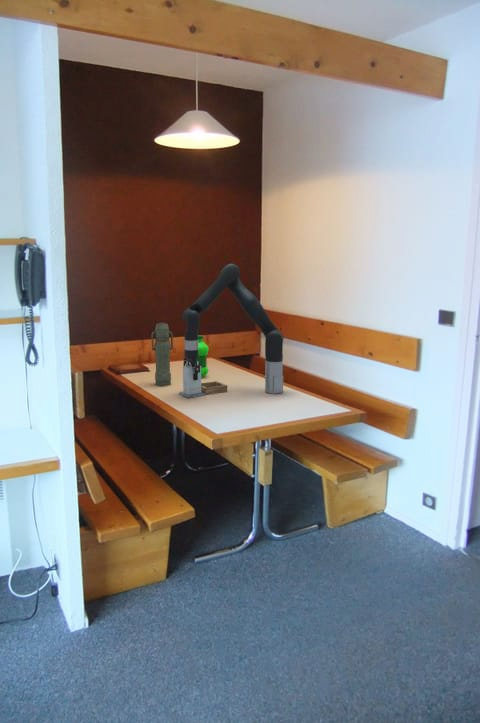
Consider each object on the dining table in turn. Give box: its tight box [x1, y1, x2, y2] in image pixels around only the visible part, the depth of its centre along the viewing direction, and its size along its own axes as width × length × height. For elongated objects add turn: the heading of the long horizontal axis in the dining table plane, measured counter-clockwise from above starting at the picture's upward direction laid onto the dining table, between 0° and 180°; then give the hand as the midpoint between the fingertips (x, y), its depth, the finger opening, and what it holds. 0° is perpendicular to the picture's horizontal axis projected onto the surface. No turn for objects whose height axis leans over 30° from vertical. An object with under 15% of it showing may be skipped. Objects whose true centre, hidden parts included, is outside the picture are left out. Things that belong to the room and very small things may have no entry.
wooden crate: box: [201, 380, 228, 396], centre depth 312 cm, size 11×13×4 cm
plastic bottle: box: [196, 334, 210, 379], centre depth 343 cm, size 10×10×25 cm
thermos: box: [151, 322, 174, 387], centre depth 323 cm, size 9×12×35 cm
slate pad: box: [178, 391, 206, 399], centre depth 304 cm, size 10×10×1 cm
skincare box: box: [182, 366, 202, 395], centre depth 302 cm, size 8×6×15 cm
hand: (191, 378), depth 302 cm, fingers open, 8 cm apart
